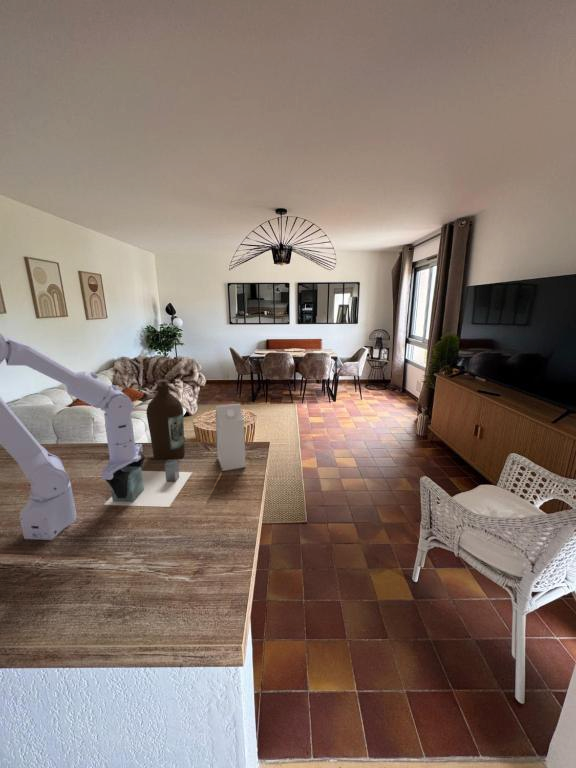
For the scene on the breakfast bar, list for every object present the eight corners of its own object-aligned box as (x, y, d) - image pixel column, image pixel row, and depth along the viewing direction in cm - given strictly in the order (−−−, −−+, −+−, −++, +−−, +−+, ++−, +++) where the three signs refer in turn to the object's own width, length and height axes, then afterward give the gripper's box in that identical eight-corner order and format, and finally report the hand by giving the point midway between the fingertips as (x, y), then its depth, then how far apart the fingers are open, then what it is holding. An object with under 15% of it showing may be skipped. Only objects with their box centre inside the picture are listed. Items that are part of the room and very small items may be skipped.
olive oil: (144, 461, 101) (134, 383, 95) (167, 447, 111) (159, 375, 105) (172, 466, 98) (164, 386, 92) (193, 451, 108) (187, 378, 101)
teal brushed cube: (133, 502, 79) (130, 477, 77) (112, 501, 79) (109, 476, 77) (144, 489, 84) (141, 466, 82) (124, 489, 84) (121, 466, 82)
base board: (169, 511, 77) (169, 506, 77) (104, 508, 78) (103, 504, 78) (192, 476, 93) (192, 472, 92) (138, 474, 94) (137, 470, 93)
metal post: (175, 482, 87) (173, 464, 86) (166, 482, 88) (164, 464, 86) (179, 477, 90) (177, 459, 89) (170, 477, 90) (168, 459, 89)
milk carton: (217, 461, 101) (214, 402, 97) (240, 457, 104) (238, 400, 99) (221, 471, 95) (218, 410, 90) (245, 467, 97) (243, 407, 93)
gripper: (120, 454, 70) (128, 509, 74) (151, 428, 85) (156, 475, 88) (89, 453, 71) (98, 507, 74) (125, 428, 85) (131, 474, 88)
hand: (128, 490), depth 81 cm, fingers closed on teal brushed cube, 5 cm apart
